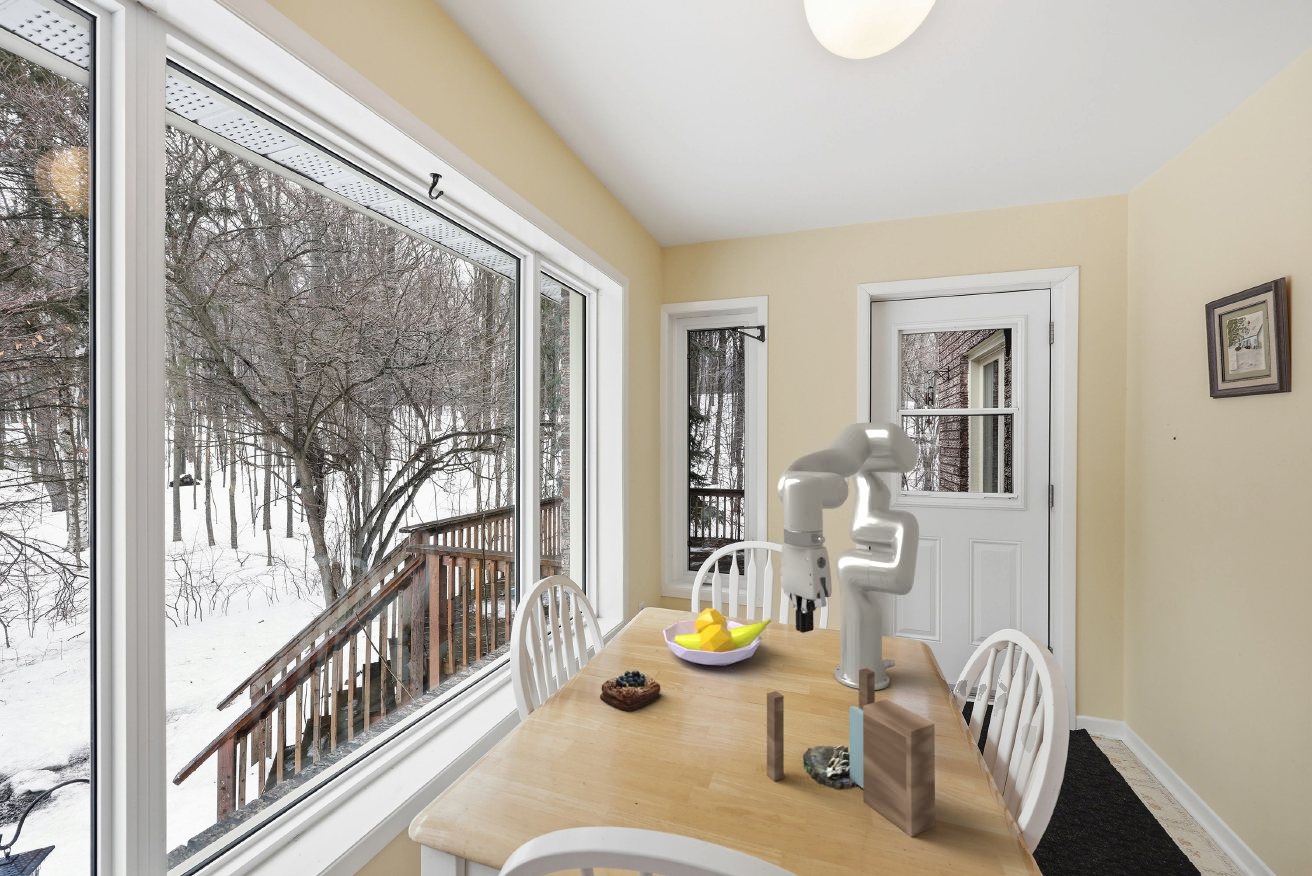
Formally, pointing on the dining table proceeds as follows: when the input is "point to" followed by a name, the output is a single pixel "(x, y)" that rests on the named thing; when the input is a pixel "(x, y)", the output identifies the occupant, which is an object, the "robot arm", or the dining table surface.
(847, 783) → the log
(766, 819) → the dining table surface
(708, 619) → the fruit bowl
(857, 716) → the door panel
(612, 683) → the pastry
